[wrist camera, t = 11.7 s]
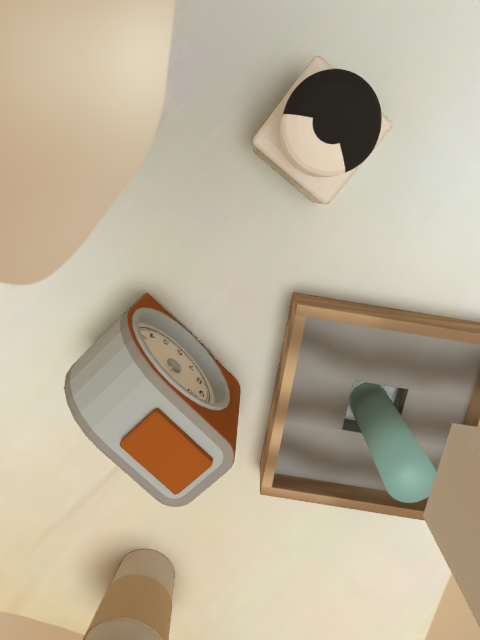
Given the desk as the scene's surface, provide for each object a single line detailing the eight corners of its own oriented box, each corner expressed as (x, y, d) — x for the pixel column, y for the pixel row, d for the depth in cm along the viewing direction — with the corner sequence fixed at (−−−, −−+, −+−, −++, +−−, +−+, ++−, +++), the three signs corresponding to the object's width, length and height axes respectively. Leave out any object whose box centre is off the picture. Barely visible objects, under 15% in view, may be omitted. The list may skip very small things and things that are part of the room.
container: (306, 77, 41) (328, 26, 28) (371, 135, 42) (420, 111, 29) (251, 150, 42) (249, 132, 30) (315, 204, 43) (338, 208, 31)
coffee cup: (122, 606, 57) (76, 746, 43) (101, 547, 55) (45, 674, 40) (192, 596, 56) (169, 735, 42) (173, 536, 54) (143, 661, 40)
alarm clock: (250, 389, 49) (247, 461, 36) (194, 437, 51) (172, 523, 38) (149, 290, 46) (106, 328, 33) (94, 345, 48) (33, 401, 35)
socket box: (293, 292, 46) (297, 304, 41) (490, 324, 46) (517, 340, 41) (259, 465, 51) (260, 494, 46) (436, 493, 51) (454, 525, 46)
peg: (354, 380, 48) (391, 453, 35) (391, 386, 48) (444, 461, 35) (345, 414, 49) (379, 498, 36) (382, 420, 49) (429, 506, 36)
